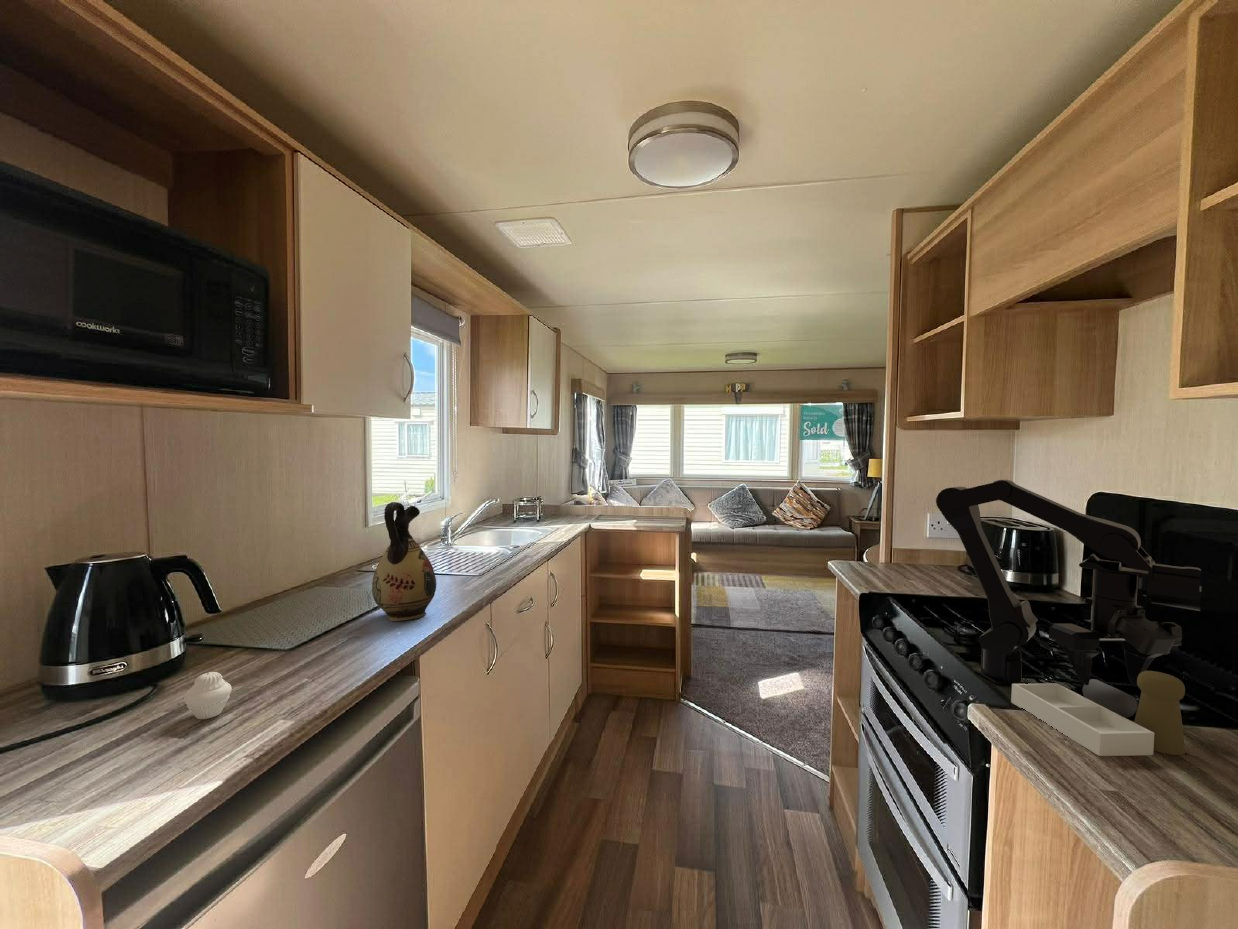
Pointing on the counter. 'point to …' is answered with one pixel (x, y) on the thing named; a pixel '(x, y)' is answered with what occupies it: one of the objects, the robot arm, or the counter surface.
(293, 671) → the counter surface
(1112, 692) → the dark grey cylinder
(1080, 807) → the counter surface
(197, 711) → the muffin
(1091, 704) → the slot tray
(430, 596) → the ceramic jug
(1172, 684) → the cork
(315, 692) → the counter surface
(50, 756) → the counter surface
